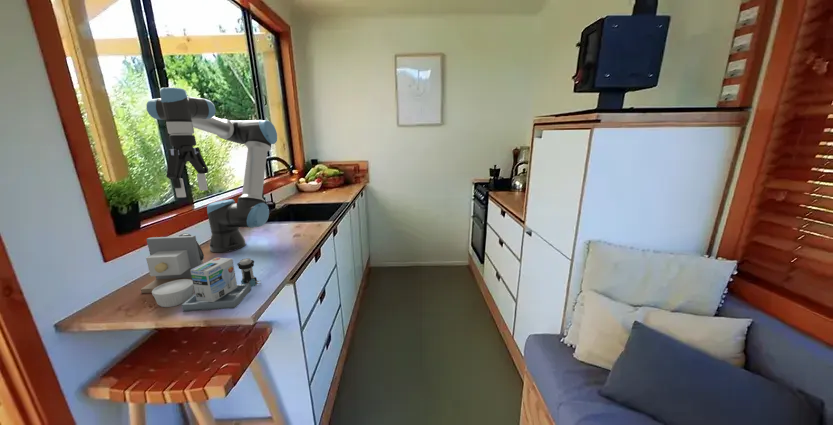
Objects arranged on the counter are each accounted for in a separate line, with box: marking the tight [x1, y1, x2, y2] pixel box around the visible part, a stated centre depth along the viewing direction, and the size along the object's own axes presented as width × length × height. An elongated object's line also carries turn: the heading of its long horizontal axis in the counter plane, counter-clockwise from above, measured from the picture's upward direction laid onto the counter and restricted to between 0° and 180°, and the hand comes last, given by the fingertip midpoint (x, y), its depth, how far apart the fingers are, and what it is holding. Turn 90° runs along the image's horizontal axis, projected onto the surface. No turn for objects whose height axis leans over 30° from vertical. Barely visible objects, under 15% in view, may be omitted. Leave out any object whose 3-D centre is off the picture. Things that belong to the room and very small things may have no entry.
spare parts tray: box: [181, 284, 252, 313], centre depth 104 cm, size 12×16×2 cm
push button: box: [236, 257, 262, 288], centre depth 112 cm, size 7×5×10 cm
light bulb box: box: [190, 257, 238, 302], centre depth 102 cm, size 11×7×11 cm, turn 169°
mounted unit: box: [140, 235, 201, 294], centre depth 113 cm, size 10×16×18 cm, turn 95°
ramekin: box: [151, 279, 195, 308], centre depth 104 cm, size 11×11×5 cm
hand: (193, 193), depth 115 cm, fingers open, 13 cm apart
